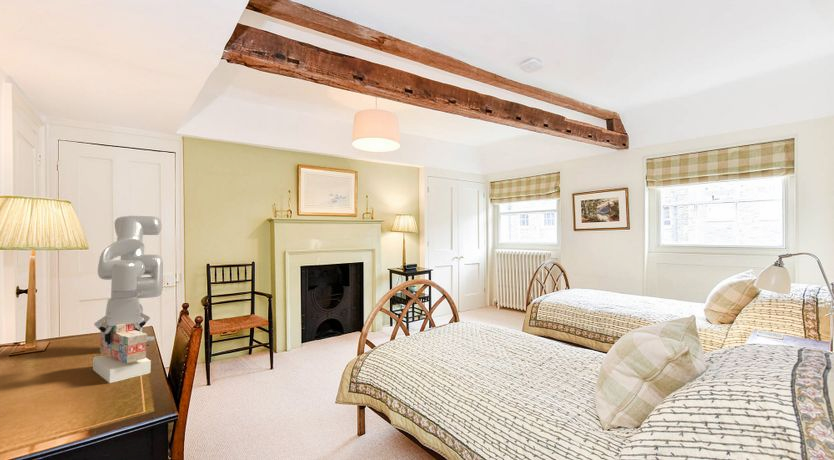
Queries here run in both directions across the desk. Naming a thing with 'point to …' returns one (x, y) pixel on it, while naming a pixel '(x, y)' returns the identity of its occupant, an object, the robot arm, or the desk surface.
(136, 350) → the stack of blocks
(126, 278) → the robot arm
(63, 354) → the desk surface
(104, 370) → the block
